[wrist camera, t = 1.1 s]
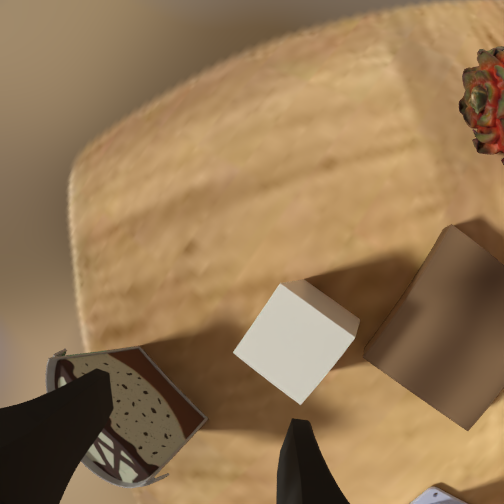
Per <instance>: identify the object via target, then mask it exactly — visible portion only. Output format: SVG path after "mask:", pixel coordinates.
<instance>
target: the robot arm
mask: <svg viewBox="0 0 504 504" xmlns="http://www.w3.org/2000/svg"><path fill="white" fill-rule="evenodd" d="M113 409H114V406H113V399H112V391H111V383H110V373H109V372H106V371H103V370H100V369H98V368H96V369H94V370H92V371H90V372H88V373H86V374H84V375H83V376H81V377H79V378H77V379H75V380H73V381H71V382H69V383H67V384H65V385H63V386H61V387H59V388H58V389H55V390H53V391H51V392H49V393H46V394H44V395H42V396H40V397H37V398H35V399H33V400H30V401H27V402H24V403H21V404H17V405H13V406H9V407H5V408H0V504H59V503H60V500H61V498H62V496H63V494H64V491H65V489H66V487H67V485H68V483H69V481H70V479H71V477H72V475H73V473H74V471H75V469H76V468H77V466H78V464H79V463H80V461H81V460H82V459H83V457H84V456H85V454H86V453H87V451H88V450H89V449H90V447H91V446H92V444H93V443H94V442H95V440H96V439H97V437H98V436H99V434H100V433H101V431H102V430H103V428H104V427H105V425H106V423H107V421H108V419H109V417H110V415H111V413H112V411H113ZM434 493H437V494H434ZM277 504H350V503H349V502H348V500H347V499H346V497H345V496H344V495H343V493H342V492H341V490H340V488H339V487H338V485H337V483H336V482H335V480H334V478H333V476H332V474H331V472H330V471H329V469H328V467H327V464H326V462H325V460H324V458H323V456H322V454H321V451H320V449H319V446H318V444H317V441H316V439H315V436H314V433H313V430H312V427H311V424H310V422H309V421H307V420H300V419H292V421H291V423H290V426H289V429H288V432H287V434H286V437H285V440H284V443H283V445H282V448H281V450H280V457H279V463H278V471H277ZM410 504H468V503H466V502H464V501H462V500H460V499H458V498H456V497H454V496H452V495H450V494H448V493H446V492H445V491H443V490H441V489H439V488H437V487H435V486H432V487H430V488H428V489H427V490H426V491H425V492H423V493H422V494H421V495H420V496H418V497H417V498H416V499H415V500H413V501H412V502H411V503H410Z"/></svg>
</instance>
